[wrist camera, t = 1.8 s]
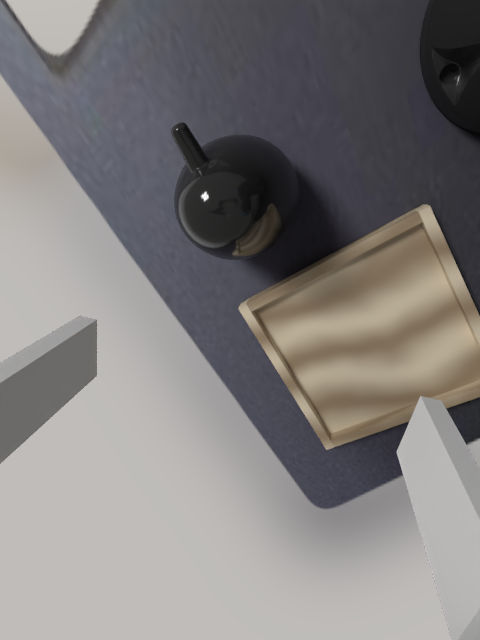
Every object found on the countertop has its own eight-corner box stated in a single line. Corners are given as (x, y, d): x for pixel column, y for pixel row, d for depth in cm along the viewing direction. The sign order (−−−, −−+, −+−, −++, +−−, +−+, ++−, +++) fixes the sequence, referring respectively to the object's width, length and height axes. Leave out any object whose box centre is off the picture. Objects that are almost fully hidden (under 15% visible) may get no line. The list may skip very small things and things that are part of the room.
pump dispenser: (275, 116, 33) (249, 72, 19) (316, 223, 36) (320, 253, 22) (181, 168, 36) (99, 162, 22) (225, 263, 39) (177, 311, 25)
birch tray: (241, 302, 40) (238, 308, 38) (423, 204, 33) (429, 205, 32) (326, 438, 45) (326, 449, 43) (501, 376, 38) (511, 386, 36)
